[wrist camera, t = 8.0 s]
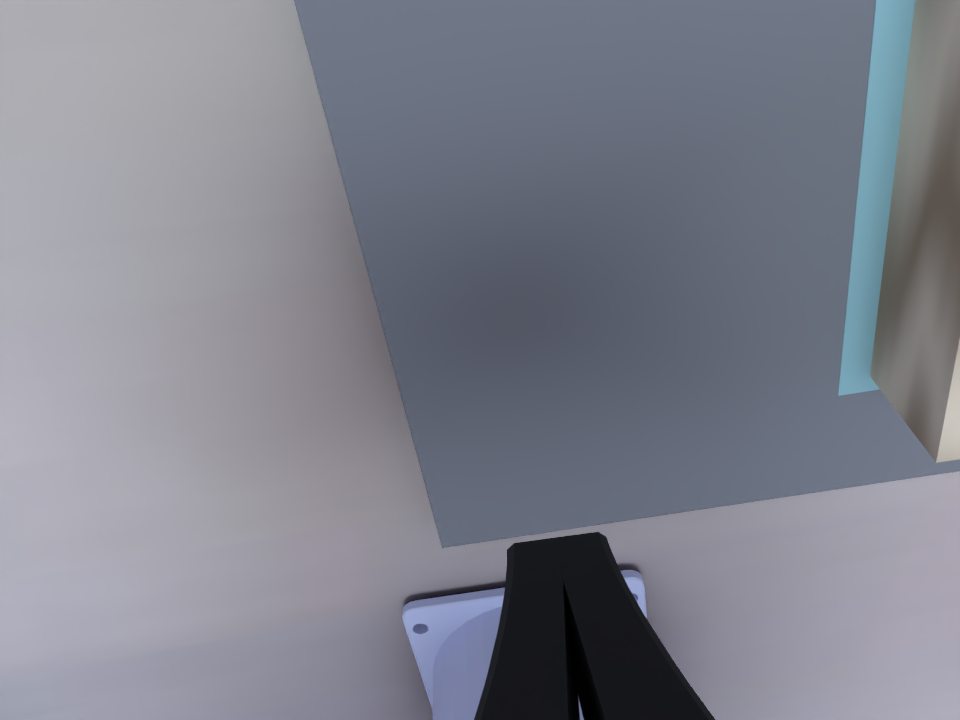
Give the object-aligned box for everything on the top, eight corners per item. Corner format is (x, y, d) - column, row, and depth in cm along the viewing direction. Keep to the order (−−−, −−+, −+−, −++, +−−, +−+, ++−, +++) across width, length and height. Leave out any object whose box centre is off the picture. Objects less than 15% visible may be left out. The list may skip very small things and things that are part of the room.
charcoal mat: (1314, 393, 24) (1346, 414, 23) (442, 523, 26) (442, 548, 25) (1724, -436, 14) (1806, -452, 13) (265, -147, 16) (254, -145, 15)
